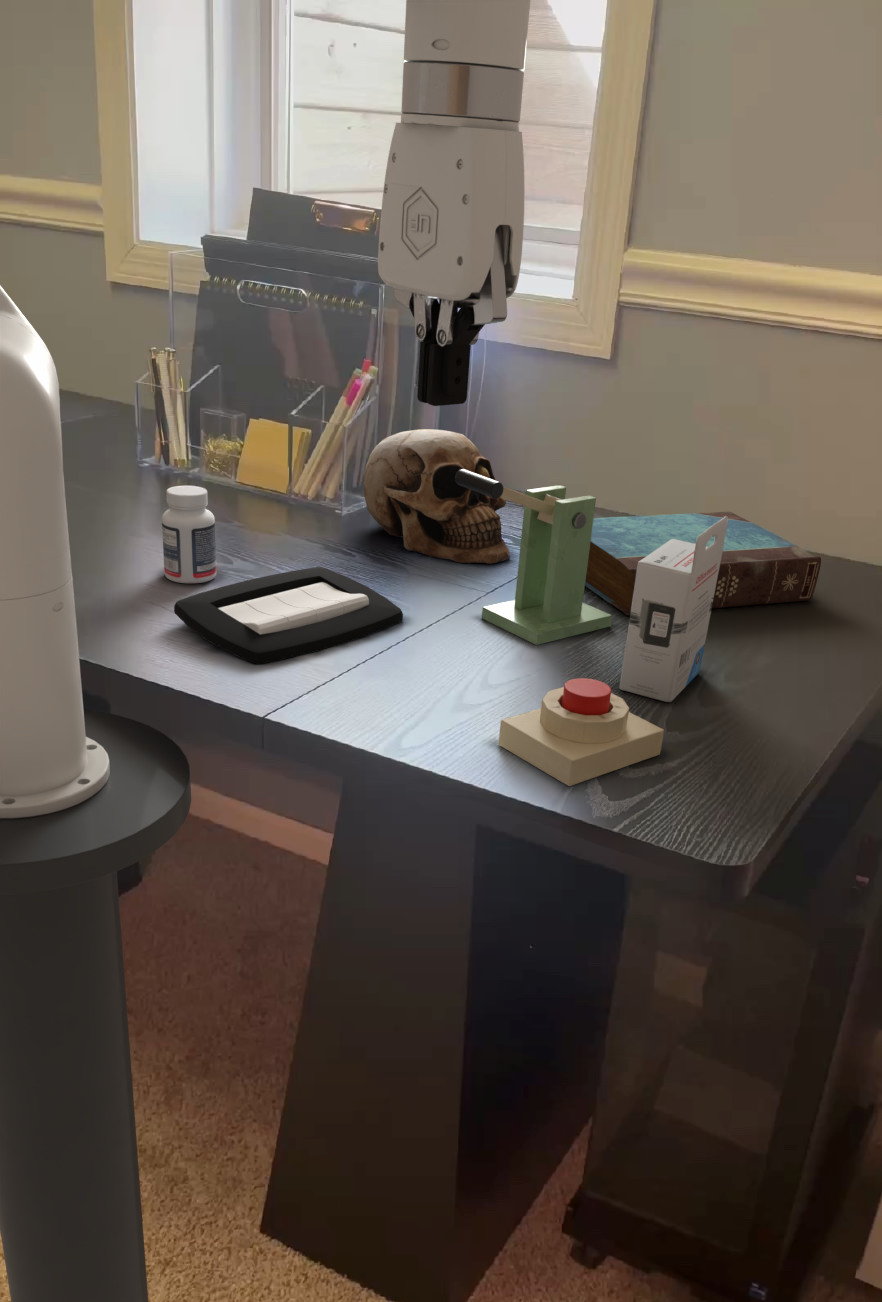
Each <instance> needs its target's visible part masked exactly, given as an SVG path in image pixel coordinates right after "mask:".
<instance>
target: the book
mask: <svg viewBox="0 0 882 1302" xmlns="http://www.w3.org/2000/svg"><path fill="white" fill-rule="evenodd" d="M725 516H727V517H728V522H727V529H726V535H725V540H724V545H723V550H722V557H721V562H720V567H719V572H718V577H717V583H716V588H715V593H714V598H713V603H712V608H711V609H723V608H734V607H735V608H736V607H744V606H746V607H747V606H758V605H770V604H781V603H782V604H784V603H795V602H805V601H811V600H812V598H813V596H814V593H815V589H816V588H817V587H816V586H817V582H818V579H819V574H820V570H821V565H822V557H821V556H819V555H817V556H814V555H812V554H811V553H810V552H808V551H806V550H805V549H804V548H802V547H800V546H799V545H796V544H795V543H793V542H791V541H790V540H787V539H785V538H783V537H781V536H780V535H778V534H776V533H774V532H773V531H770V530H768V529H766V528H764V527H762V526H760V525H758V524H756V523H754V522H752V521H750V520H748V519H746V518H744V517H742V516H740V515H738V514H737V513H734V512H731V511H712V512H711V511H710V512H692V513H691V512H690V513H673V514H671V513H670V514H652V515H651V514H650V515H632V516H609V517H594V519H593V527H592V534H591V542H590V550H589V557H588V565H587V573H586V580H585V587H586V588H587V589H588V590H590V591H591V592H592V593H594V594H596V595H597V596H598V597H600V598H602V599H603V600H604V601H605V602H607V603H608V604H610V605H611V606H613V607H615V608H616V609H618V610H619V611H621V612H622V613H623V614H624V615H625V616H630V613H631V607H632V600H633V594H634V587H635V580H636V573H637V566H638V562H639V561H640V560H642V559H643V558H645V557H646V556H648V555H649V554H651V553H652V552H654V551H655V550H656V549H658V548H659V547H661V546H662V545H664V544H665V543H667V542H668V541H669V540H671V539H676V540H680V541H684V542H689V543H693V544H696V540H697V537H698V536H699V535H700V534H702V533H703V532H704V531H706V530H707V529H708V528H709V527H711V526H712V525H714V524H715V523H717V522H718V521H720V520H721V519H723V518H724V517H725ZM714 540H715V537H712V536H711V539H710V541H708V542H707V544H706V547H709V546H710V545H712V544H713V542H714Z"/></svg>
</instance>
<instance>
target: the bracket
mask: <svg viewBox="0 0 882 1302" xmlns="http://www.w3.org/2000/svg"><path fill="white" fill-rule="evenodd" d="M566 493H567V487H566V486H563V485H560V484H559V485H558V484H557V485H551V486H544V487H539V488H532V489H531V488H530V489H526V490H525V495H528V496H530V497H533V498H536V499H539V500H541V501H544V499H545V496H546V494H547V495H550V496H553V497H555V498H558V499H561V500H557V501H555V507H554V515H553V524H549V523H547V522H544V521H542V520H539V519H537V518H538V515H539V511H536V510H533V509H531V508H528V507H525V506H523V517H522V527H521V536H520V546H519V548H520V549H519V554H518V555H519V556H518V565H517V566H518V567H517V576H516V586H515V597H514V599H513V600H508V601H503V602H500V603H499V602H498V603H495V604H490V605H486V606H482V611H481V619H482V620H485V621H486V622H488V623H491V624H492V625H495V626H497V627H498V628H500V629H503V630H505V631H506V632H509V633H511V634H513V635H515V636H517V637H519V638H521V639H523V640H525V641H527V642H529V643H531V644H533V645H535V646H538V645H543V644H546V643H550V642H554V641H558V640H562V639H567V638H570V637H574V636H578V635H582V634H586V633H589V632H593V631H598V630H602V629H606V628H610V627H611V625H612V619H613V617H612V616H613V615H612V614H610V613H608V612H605V611H603V610H601V609H599V608H596V607H594V606H592V605H590V604H588V603H584V594H585V587H586V586H585V580H586V573H587V565H588V557H589V550H590V542H591V534H592V527H593V519H594V518H595V511H596V502H597V497H594V496H592V495H582V496H577V497H576V496H575V497H571V498H566V496H567V495H566Z"/></svg>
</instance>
